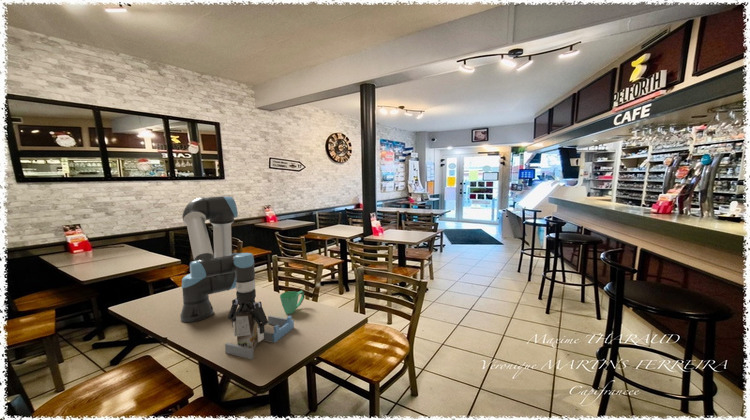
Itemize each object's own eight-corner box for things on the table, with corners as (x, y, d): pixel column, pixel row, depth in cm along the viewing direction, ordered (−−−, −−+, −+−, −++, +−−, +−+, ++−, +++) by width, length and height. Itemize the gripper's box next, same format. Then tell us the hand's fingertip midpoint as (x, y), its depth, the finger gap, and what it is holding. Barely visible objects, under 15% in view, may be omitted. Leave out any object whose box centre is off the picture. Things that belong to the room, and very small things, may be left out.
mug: (288, 318, 150) (287, 299, 149) (277, 313, 156) (276, 295, 155) (309, 308, 162) (309, 290, 161) (298, 303, 168) (298, 287, 167)
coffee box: (253, 352, 120) (251, 315, 118) (237, 353, 120) (235, 316, 118) (260, 340, 129) (258, 306, 128) (245, 341, 129) (243, 307, 127)
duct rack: (225, 352, 120) (224, 338, 119) (269, 323, 145) (269, 310, 144) (253, 359, 115) (252, 344, 114) (293, 327, 140) (293, 314, 139)
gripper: (216, 289, 123) (220, 336, 125) (262, 296, 114) (265, 347, 116) (231, 283, 130) (233, 328, 132) (275, 289, 121) (277, 337, 123)
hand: (248, 337), depth 124 cm, fingers open, 12 cm apart
